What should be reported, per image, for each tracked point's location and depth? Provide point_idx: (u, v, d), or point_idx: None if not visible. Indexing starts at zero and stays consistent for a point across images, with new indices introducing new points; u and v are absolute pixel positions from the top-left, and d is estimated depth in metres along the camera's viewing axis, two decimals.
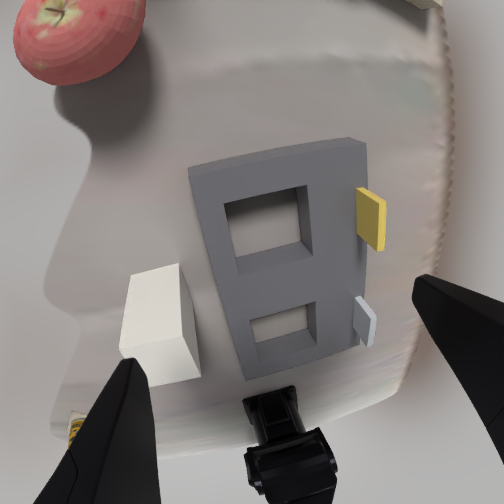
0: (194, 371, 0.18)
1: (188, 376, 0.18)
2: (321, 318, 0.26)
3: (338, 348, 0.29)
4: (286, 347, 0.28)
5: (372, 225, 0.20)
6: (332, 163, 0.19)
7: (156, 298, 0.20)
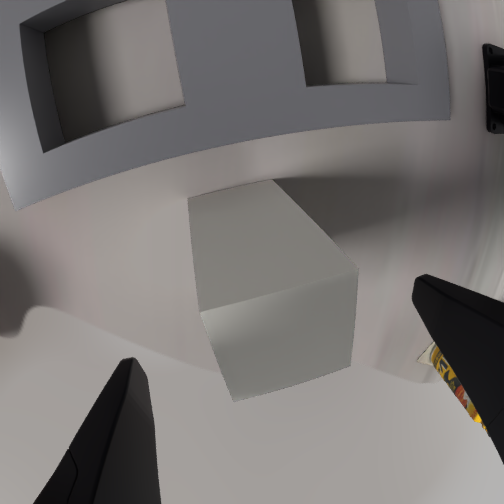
0: (334, 284, 0.07)
1: (347, 296, 0.08)
2: None
3: None
4: (399, 28, 0.10)
5: None
6: None
7: None
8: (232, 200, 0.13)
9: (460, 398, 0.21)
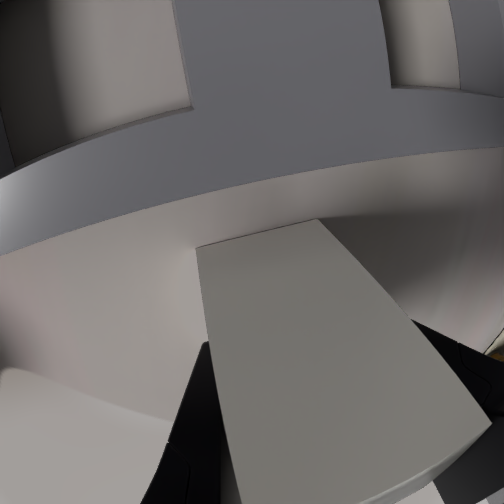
0: (457, 451, 0.03)
1: (462, 450, 0.04)
2: None
3: None
4: (483, 22, 0.06)
5: None
6: None
7: None
8: (266, 259, 0.08)
9: None
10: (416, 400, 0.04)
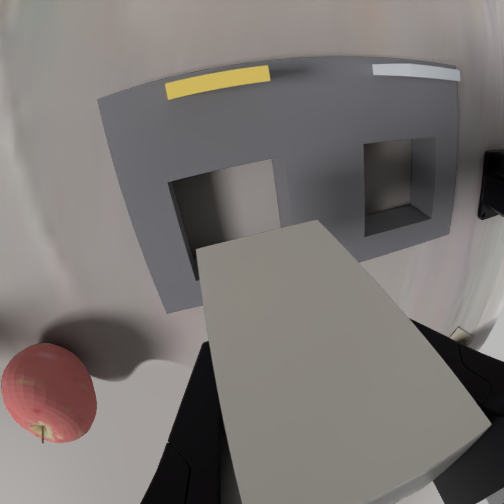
0: (457, 452, 0.03)
1: (462, 451, 0.04)
2: (394, 132, 0.15)
3: (451, 102, 0.14)
4: (425, 174, 0.18)
5: (220, 88, 0.10)
6: (132, 148, 0.12)
7: None
8: (266, 260, 0.08)
9: None
10: (416, 401, 0.04)
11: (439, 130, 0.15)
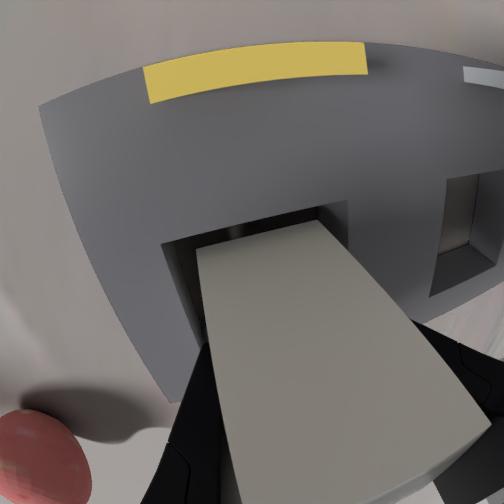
0: (457, 452, 0.03)
1: (462, 451, 0.04)
2: (479, 162, 0.09)
3: None
4: (495, 212, 0.12)
5: None
6: (99, 189, 0.07)
7: None
8: (266, 260, 0.08)
9: None
10: (416, 401, 0.04)
11: None
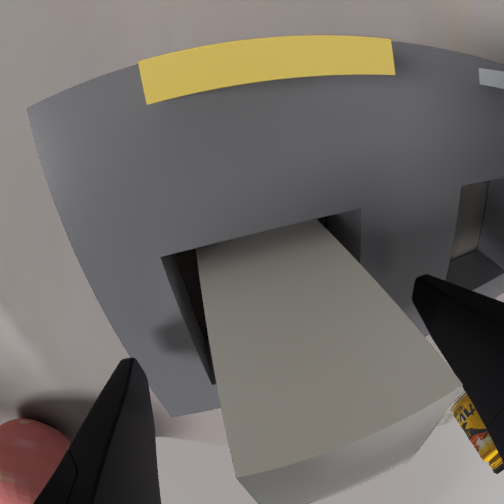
0: (430, 409, 0.04)
1: (438, 414, 0.04)
2: (493, 168, 0.09)
3: None
4: None
5: (277, 79, 0.04)
6: (93, 199, 0.07)
7: None
8: (258, 243, 0.09)
9: (473, 443, 0.23)
10: (389, 360, 0.05)
11: None
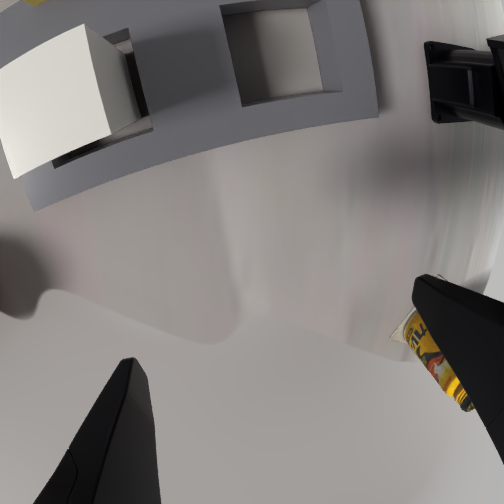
0: (66, 38, 0.06)
1: (80, 47, 0.07)
2: None
3: None
4: (327, 44, 0.14)
5: None
6: (5, 51, 0.09)
7: None
8: None
9: (432, 373, 0.25)
10: None
11: None
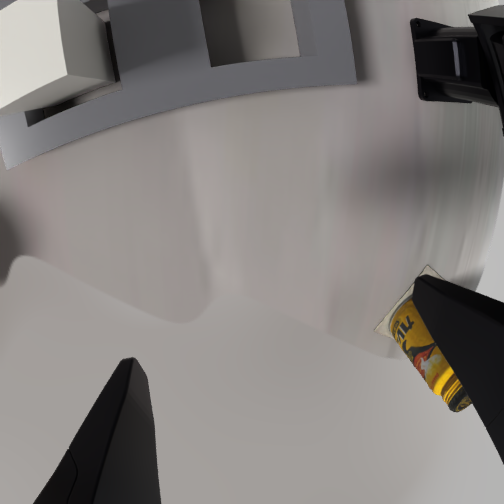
0: None
1: (49, 0, 0.06)
2: None
3: None
4: (303, 12, 0.13)
5: None
6: None
7: None
8: None
9: (418, 369, 0.24)
10: None
11: None
